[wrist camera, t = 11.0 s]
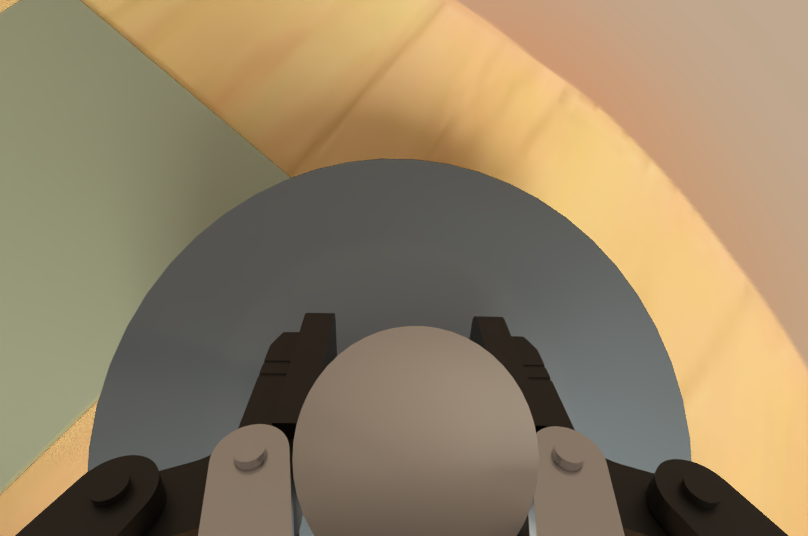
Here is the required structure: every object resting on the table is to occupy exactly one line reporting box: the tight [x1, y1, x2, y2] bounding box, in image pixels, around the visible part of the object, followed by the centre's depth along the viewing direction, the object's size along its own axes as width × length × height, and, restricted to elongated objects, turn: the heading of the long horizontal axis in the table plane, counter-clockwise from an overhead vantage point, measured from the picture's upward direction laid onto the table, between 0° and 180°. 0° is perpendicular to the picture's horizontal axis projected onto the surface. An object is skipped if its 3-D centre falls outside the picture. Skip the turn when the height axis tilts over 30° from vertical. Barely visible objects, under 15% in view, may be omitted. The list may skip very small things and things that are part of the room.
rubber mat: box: [0, 0, 291, 494], centre depth 21 cm, size 20×20×1 cm
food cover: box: [88, 159, 691, 536], centre depth 12 cm, size 16×16×12 cm
